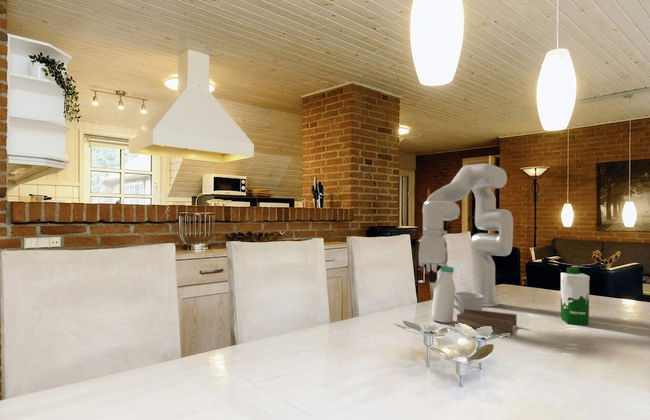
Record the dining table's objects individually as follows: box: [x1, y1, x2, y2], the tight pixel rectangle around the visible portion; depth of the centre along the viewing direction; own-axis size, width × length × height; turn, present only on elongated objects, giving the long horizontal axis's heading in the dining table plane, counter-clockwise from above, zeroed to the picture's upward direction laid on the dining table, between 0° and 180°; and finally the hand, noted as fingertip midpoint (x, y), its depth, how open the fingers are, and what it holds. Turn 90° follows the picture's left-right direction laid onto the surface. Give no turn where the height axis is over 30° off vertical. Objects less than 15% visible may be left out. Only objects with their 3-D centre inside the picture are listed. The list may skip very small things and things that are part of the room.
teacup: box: [454, 291, 484, 315], centre depth 170 cm, size 14×11×8 cm
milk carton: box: [560, 266, 591, 326], centre depth 158 cm, size 9×9×20 cm
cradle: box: [456, 308, 518, 336], centre depth 150 cm, size 12×18×4 cm
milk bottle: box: [431, 265, 456, 324], centre depth 158 cm, size 8×8×20 cm
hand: (432, 282), depth 160 cm, fingers closed
